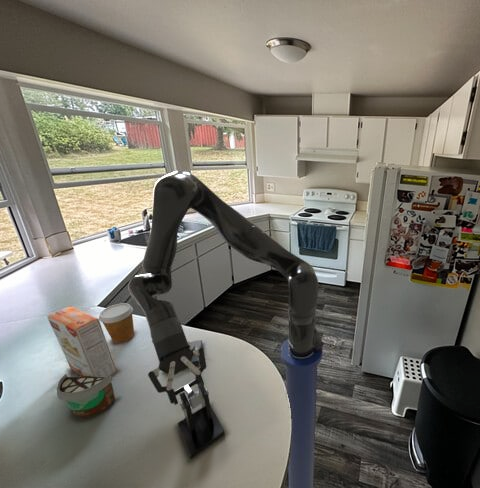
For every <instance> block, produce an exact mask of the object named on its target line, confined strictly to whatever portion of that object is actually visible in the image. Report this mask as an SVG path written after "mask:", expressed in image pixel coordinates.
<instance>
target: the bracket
mask: <svg viewBox="0 0 480 488" xmlns="http://www.w3.org/2000/svg"><path fill="white" fill-rule="evenodd" d="M197 389H198V392H199V393H200V395H201V399H202V402H203V403H202V404H201V408H199V409H198V410H196V411H194V412H192V407H191V405H190V403H189V399H188V396H187V395H186V392H185V391H183V392H181V393H179V399H180V402H181V403H180V408H181V411H183V414H184V418H183V419H181V420H180V421H178V422H177V426H178V430H179V431H180V434H181V436H182V437H181V438H182V439H183V442H184V445H185V448H186V449H187V452H188V455H189V458H190V459H191V460H192V459H193V458H194V457H196V456H197V455H198V454H200V453H201V452H203V451H204V450H205V449H207V448H208V447H209V446H211V445H213V443H215V442H216V441H218V440H219V439H221V438H222V437H223V436H225V435H226V431H225V429H224V427H223V425H222V424H221V422H220V420H219V418H218V416H217V414H216V412H215V411H214V409H213V407H212V405H211V402H210V392H209V390H208V389H207V388H206V387H205V384H204V385H203V384H202V382H201V383H199V384H198V385H197Z"/></svg>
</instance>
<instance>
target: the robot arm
mask: <svg viewBox="0 0 480 488" xmlns="http://www.w3.org/2000/svg"><path fill="white" fill-rule="evenodd" d="M189 210H193V211H195V212H196V213H197V214H199V215H200V216H202V217H204V218H205V219H206V220H207V221H208V222H209V223H210V224H211V225H212V226H213V228H214V229H215V230H216V232H217V233H218V235H220V237H221V238H222V239H223V241H224V242H225V243H226V244H227V245H228V246H229V247H231V248H232V249H233V250H235V251H236V252H238V253H239V254H241V255H242V256H244V257H245V258H247V259H249V260H251V261H253V262H257V263H260V264H264V265H266V266H269V267H271V268H273V269H275V270H276V271H277V272H279V273H280V274H281V275H282V276H283V277H284V278H285V279H286V280H287V284H288V304H287V309H288V310H287V311H288V339H289V340H288V339H287V340H288V342H289V353H290V355H291V356H292V357H294V358H296V359H306V358H309V357H310V356H312V355H313V354H314V353H316V350H319V349H323V347H324V341H323V340H322V338H321V336H320V334H318V330H317V328H316V317H317V315H316V314H317V306H318V300H319V298H318V297H319V279H318V276H317V275H316V274H317V273H316V270H315V269H314V267H313V266H312V265H311V264H310V263H309V262H308V261H306V260H304V259H303V258H300V257H299V256H297V255H295V254H294V253H292V252H291V251H289V250H288V249H286V248H285V247H283V246H282V244H280V243H279V242H278V241H276V239H274V238H273V237H272V236H270V235H269V234H268V233H267V232H266V231H264V230H263V229H262V228H260V227H259V226H258V225H256V223H254V222H253V221H251V220H250V219H248V218H247V217H246V216H244V215H243V214H241V213H240V212H239V211H237V210H236V209H235V208H234V207H232V206H231V205H229V204H228V203H226V201H224V200H223V199H221V198H220V196H218V195H217V194H216V193H215V192H214V191H213V190H211V189H210V188H209V186H207V185H206V184H205V183H204V182H203V181H202V180H200V179H199V178H198V176H196V175H195V174H193V173H191V172H188V171H184V170H176V171H173V172H171V173H168V174H166V175H164V176H162V177H161V178H159V179H158V180H157V181H156V182H155V184H154V187H153V194H152V215H151V216H152V217H151V226H150V232H149V238H148V240H147V241H148V242H147V245H146V249H145V251H144V255H143V258H142V264H141V266H142V269H143V271H144V272H145V273H144V274H139V275H135V276H133V277H132V278H130V280H129V281H128V285H127V289H128V292H129V295H130V296H131V298H132V299H133V300H134V302H135V303H136V304H137V306H138V307H139V308H140V310H141V311H142V312H143V314H144V316H145V318H146V321H147V325H148V327H149V333H150V338H151V342H152V344H153V347H154V350H155V353H156V356H157V359H158V367H156V368H155V369H153V370H150V371H149V372H148V374H147V376H148V379H149V380H150V381H151V383H152V385H153V387H154V389H155V390H156V392H157V393H159V394H161V393H167V396H168V399H169V403H170V404H172V405H173V404H174V406H175V405H177V404H179V401H178V399H177V398H178V397H177V395H175V392H174V391H175V389H174V388H173V385H174V384H173V383H174V376H176V375H178V374H179V373H181V372H184V371H186V370H188V371H189V372H191V373H192V375H194V380H195V379H196V380H197V384H196V385H197V386H198V384H199V383H201V382H202V384H203V385H204V386H205V382H204V379H203V376H202V373H203V372H204V371H205V370H206V369H207V362H206V357H205V356H206V354H205V350H204V349H205V348H204V347H202V348H200V349H198V350H194V351H193V350H191V349H190V347H189V345H188V342H189V341H188V339H187V336H186V334H185V331H184V328H183V326H182V323H181V321H180V320H179V317H178V315H177V311H176V310H175V306H174V303H173V302H172V301H171V300H165V299H162V300H161V299H156V298H155V297H158V296H164V295H166V294H168V293H169V292H170V291H171V289H172V287H173V279H172V266H173V263H174V260H175V258H176V253H177V249H178V233H179V229H180V226H181V224H182V222H183V220H184V218H185V216H186V214H187V213H188V211H189ZM187 341H188V342H187ZM193 354H194V355H196V357H199V362H200V364H199V368H198V367H197V366H195V365H193V364H192V363H191V360H192V357H193ZM160 371H161V372H163V373H164V372H165V373H164V374H167V378H166V385H165V386H162V384H161V382H160V380H159V379H158V378H159V376H160Z"/></svg>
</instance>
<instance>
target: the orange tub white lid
mask: <svg viewBox="0 0 480 488" xmlns="http://www.w3.org/2000/svg"><path fill="white" fill-rule="evenodd" d="M133 312H134V308H133V306H131V305H130V304H129V303H124V302H122V303H116V304H113V305H109V306H108V307H105V308H104V309H103V310H101V312H100V313H99V316H98V319H99V321H100V323H102V324H103V326H104V328H105V329H106V331H107V334H108V335H109V337H110V339H111V340H112V342H113V343H114V344H121V343H126V342H127V341H130V340H131V339H132V338H133V337H134V336H135V327H134V318H133V317H134V316H133Z"/></svg>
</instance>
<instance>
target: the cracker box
mask: <svg viewBox="0 0 480 488" xmlns="http://www.w3.org/2000/svg"><path fill="white" fill-rule="evenodd" d="M47 319H48V322H49V324H50V327H51V329H52V330H53V333H54V335H55V337H56V339H57V342H58V344H59V346H60V348H61V351H62V353H63V355H64V357H65V359H66V362H67V364H68V367H69V368H70V370H72V371H73V372H75V373H77V374H78V375H80V377H82V376H93V377H107V376H108V375H109V374H110V376H111V377H112V376H113V375H115V374H116V373H117V372H118V370H117V367H116V364H115V362H114V361H115V360H114V358H113V356H112V352H111V350H110V347H109V344H108V342H107V338H106V335H105V333H104V330H103V327H102V325H101V321H100V320H99V317H96V316H93V315H91V314H90V313H87V312H85V311H83V310H81V309H78V308H76V307H74V306H72V305H70V306H68V307H65V308H63V309H61V310H58V311H56V312H53V313H51V314H49V315H47Z"/></svg>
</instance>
